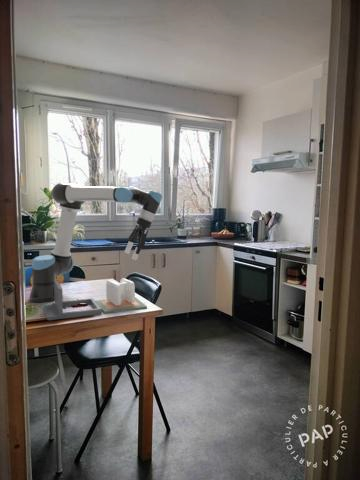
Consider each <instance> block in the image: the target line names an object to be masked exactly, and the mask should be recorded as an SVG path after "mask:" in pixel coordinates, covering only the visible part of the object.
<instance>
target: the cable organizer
mask: <svg viewBox="0 0 360 480" xmlns="http://www.w3.org/2000/svg"><path fill="white" fill-rule="evenodd" d="M105 288H106V290H105V291H106V292H105V293H106V294H105V295H106V296H105V297H106V298H105V299H106V300H108V301H109V302H110V303H113V304H114V305H115V306H119V305H121V302H122V300H125V301H128V302H129V303H130V304H131V303H134V301H135V293H136V291H135V290H136V286H135V283H134V281H132V280H130V279H127V278H124V277H123V278H121V279H120V282H119V283H118V282H116V281H113V280H109V279H108V280H106V287H105Z"/></svg>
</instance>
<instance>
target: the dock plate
mask: <svg viewBox="0 0 360 480" xmlns="http://www.w3.org/2000/svg"><path fill="white" fill-rule="evenodd" d="M95 301H96V303H97V304H98V305H99V306H100V307H101V309H102V313H103V314H111V313H119V312H126V311H127V312H128V311H135V310H144V309H147V308H148V306H147V305H146V304H145V303H143V302H142V301H141V300H139V298H137V297H135V301H134V303H131V304H130V303H129V302H128V301H125V300H122V302H121V305H119V306H115V305H114V304H113V303H110V302H109V301H108V300H107V299H99V300H95Z"/></svg>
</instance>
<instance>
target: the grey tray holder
mask: <svg viewBox="0 0 360 480" xmlns="http://www.w3.org/2000/svg"><path fill="white" fill-rule="evenodd" d="M96 301H97V300H95V299H94V298H82V299H81V298H79V299H74V300H73V299H72V300H63V287H62V286H61V284H60V282H59V281H58V279H55V280H54V303H52V304H44V305H43V309H44V312H45V317H46V319H47V321H55V320H64V319H71V318H80V317H87V316H88V317H89V316H97V315H101V314H103V311H102V309H101V307H100V306H99V305H98V304H97V303H96ZM80 303H87V304H86V305H91V306H92V307H93V308H91V309H90V308H89V309H80V310H74V311H64V310H63V308H64V306H65V307H72V306H71V305H75V304H80ZM75 306H76V305H75Z"/></svg>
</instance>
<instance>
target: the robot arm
mask: <svg viewBox="0 0 360 480" xmlns="http://www.w3.org/2000/svg"><path fill="white" fill-rule="evenodd" d="M51 197H52V199H53V200H54V201H55V203H57V204H59V205H58V206H59V207H60V209H61V210H60V211H61V212H60V216H59V222H58V225H57V226H58V228H57V233H56V237H55V242H54V243H55V245H54V248H53V249H52V250H50V254H44V255H39V256H35V257H34V258H33V259H32V261H31V269H32V270H31V274H32V287H31V290H30V294H29V301H30V302H33V303H47V302H49V303H50V302H52V301H54V280H56V277H59V276H64V275H66V274H68V273H70V272H71V271H72V269H73V268H74V266H75V265H74V263H75V262H74V259H73V257H72V253H71V246H72V242H73V236H74V230H75V226H76V225H75V224H76V220H77V214H78V211H81V209H82V205H83V204H85V202H105V203H108V202H109V203H133V204H134V203H135V204H137V205H139V206H142V208H141V210H140V213H139V217H137V221H136V224H135V227H134V228H133V230H132V232H131V233H130V234H129V236H128V238H127V239H128V243H127V245H126V246H125V249H124V253H125V254H128V255H130V253H131V250H132V248H133V245H134V244H135V240H137V245H135V249H134V251H133V254H132V255H131V259H132V260H134V261H137V260H138V258H139V256H140V253H141V251H142V249H145V246H146V245H145V244H146V239H147V236H148V232H149V230H147V229H150V228H151V225H153V224H152V222H153V221H154V219H155V217H156V216H155V215H156V214H157V212H158V209H159V206H160V205H161V202H162V198H163V195H162V193H160V192H157V191H156V190H153V189H150V190H149V191H147V192H146V191H145V190H142V189H139V188H137V187H135V186H132V185H128V186H82V185H80V184H77V183H69V182H67V183H66V182H60V183H57V184H55V185H54V186H53V187H52V189H51ZM137 238H138V239H137Z"/></svg>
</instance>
